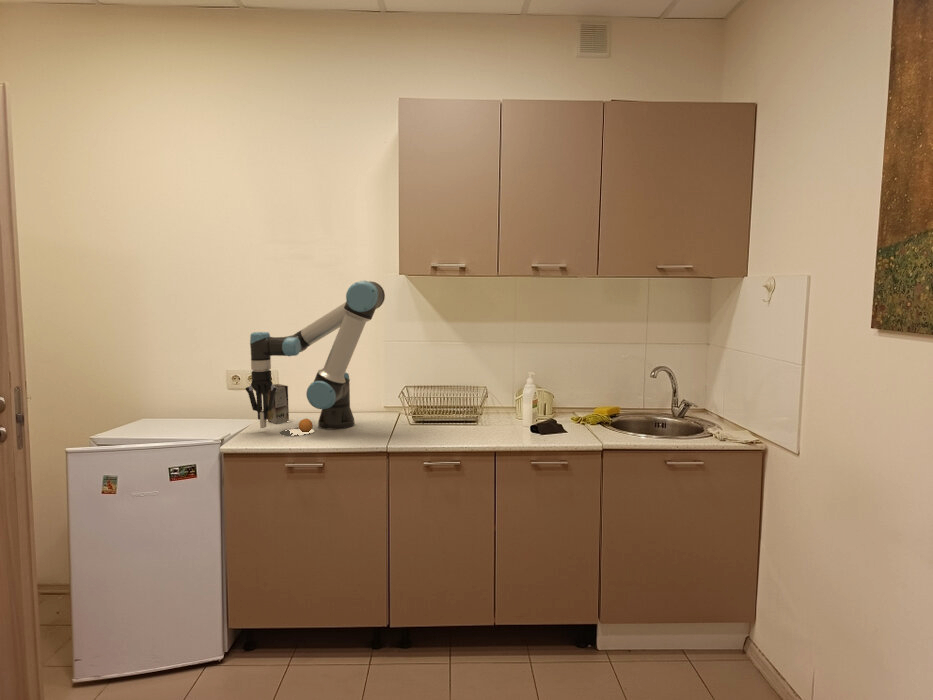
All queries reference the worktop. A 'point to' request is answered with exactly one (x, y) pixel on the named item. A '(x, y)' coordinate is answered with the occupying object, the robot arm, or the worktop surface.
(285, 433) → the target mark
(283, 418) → the coffee box
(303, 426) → the ball
